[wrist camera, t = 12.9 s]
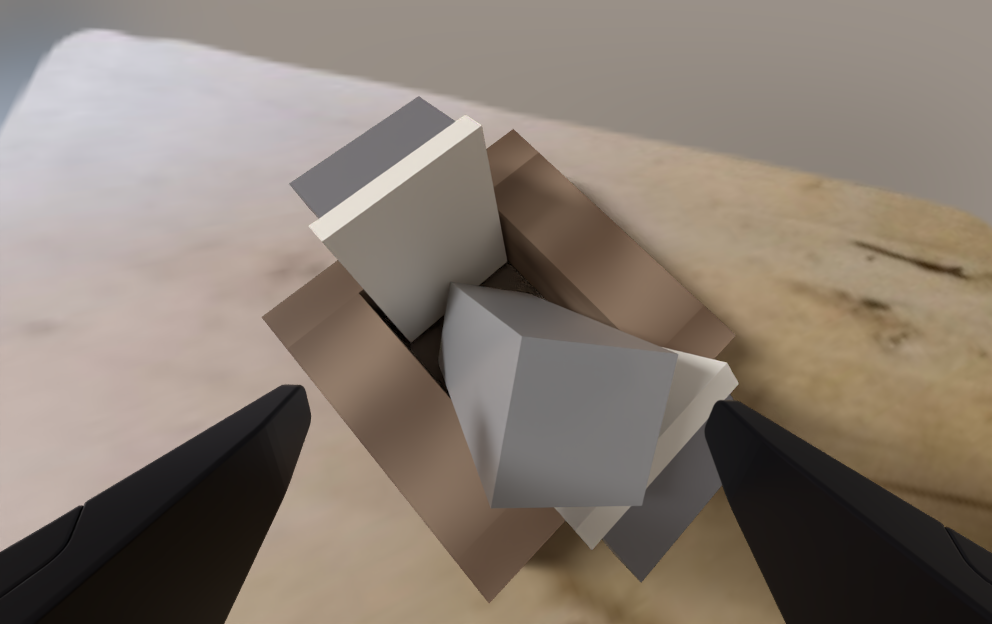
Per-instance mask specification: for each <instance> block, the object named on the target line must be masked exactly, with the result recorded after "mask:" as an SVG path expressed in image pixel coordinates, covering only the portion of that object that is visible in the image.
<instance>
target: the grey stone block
mask: <svg viewBox="0 0 992 624" xmlns="http://www.w3.org/2000/svg"><path fill="white" fill-rule="evenodd" d="M677 358H678V354H677V353H675V352H672V351H670V350H667V349H665V348H662V347H660V346H657V345H655V344H652V343H650V342H647V341H645V340H643V339H640V338H638V337H635V336H633V335H630V334H628V333H625V332H623V331H620V330H618V329H615V328H613V327H610V326H608V325H605V324H603V323H600V322H598V321H596V320H593V319H591V318H588V317H586V316H583V315H581V314H578V313H576V312H573V311H571V310H568V309H566V308H563V307H561V306H558V305H556V304H554V303H551V302H549V301H546V300H544V299H541V298H539V297H536V296H534V295H531V294H529V293H524V292H517V291H510V290H503V289H496V288H490V287H483V286H476V285H469V284H462V283H455V282H450V284H449V291H448V297H447V304H446V311H445V317H444V324H443V330H442V337H441V344H440V350H439V357H438V364H439V367H440V369H441V372H442V375H443V378H444V381H445V383H446V386H447V389H448V392H449V394H450V397H451V400H452V403H453V405H454V408H455V411H456V414H457V416H458V419H459V422H460V425H461V428H462V430H463V433H464V436H465V439H466V441H467V444H468V447H469V450H470V452H471V455H472V458H473V461H474V464H475V466H476V469H477V472H478V475H479V477H480V480H481V483H482V486H483V488H484V491H485V494H486V497H487V499H488V502H489V505H490V508H544V507H599V506H642V503H643V499H644V495H645V491H646V486H647V482H648V478H649V474H650V470H651V466H652V462H653V457H654V453H655V449H656V445H657V441H658V437H659V433H660V429H661V424H662V420H663V416H664V412H665V408H666V404H667V400H668V395H669V391H670V387H671V383H672V379H673V375H674V371H675V367H676V362H677Z"/></svg>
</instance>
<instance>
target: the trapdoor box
mask: <svg viewBox="0 0 992 624" xmlns="http://www.w3.org/2000/svg"><path fill="white" fill-rule="evenodd" d="M486 151H487V156H488V161H489V167H490V172H491V177H492V182H493V188H494V193H495V198H496V204H497V209H498V214H499V219H500V225H501V230H502V235H503V241H504V246H505V251H506V257H507V260H508V261H509V262H510V263H511V264H512V265H513V266H514V267H515V268H516V269H517V270H518V272H519V273H520V274H521V275H522V276H523V277H524V278H525V279H526V280H527V281H528V282H529V283H530V284H531V285H532V286H533V287H534V288H535V289H536V290H537V291H538V292H539V293H540V294H541V295H542V296H543V297H544V298H545V299H546V300H547V301H549V302H551V303H554V304H556V305H558V306H561V307H563V308H566V309H568V310H571V311H573V312H576V313H578V314H581V315H583V316H586V317H588V318H591V319H593V320H596V321H598V322H600V323H603V324H605V325H608V326H610V327H613V328H615V329H618V330H620V331H623V332H625V333H628V334H630V335H633V336H635V337H638V338H640V339H643V340H645V341H647V342H650V343H652V344H655V345H657V346H660V347H664V348H668V349H672V350H676V351H680V352H684V353H689V354H693V355H697V356H701V357H705V358H709V359H715V358H716V357H717V355H718V354H719V353H720V352H721V351H722V350H723V349H724V348H725V347H726V346H727V345H728V343H729V342H730V341H731V340H732V339H733V338H734V337H735V336H736V335H735V334H734V333H733V332H732V331H731V330H730V329H729V328H728V327H727V326H726V325H725V324H723V323H722V322H721V321H720V320H719V319H718V318H717V317H716V316H715V315H714V314H713V313H712V312H711V311H709V310H708V309H707V308H706V307H705V306H704V305H703V304H702V303H701V302H700V301H699V300H698V299H696V298H695V297H694V296H693V295H692V294H691V293H690V292H689V291H688V290H687V289H686V288H685V287H683V286H682V285H681V284H680V283H679V282H678V281H677V280H676V279H675V278H674V277H673V276H672V275H671V274H669V273H668V272H667V271H666V270H665V269H664V268H663V267H662V266H661V265H660V264H659V263H658V262H656V261H655V260H654V259H653V258H652V257H651V256H650V255H649V254H648V253H647V252H646V251H645V250H643V249H642V248H641V247H640V246H639V245H638V244H637V243H636V242H635V241H634V240H633V239H632V238H631V237H629V236H628V235H627V234H626V233H625V232H624V231H623V230H622V229H621V228H620V227H619V226H618V225H616V224H615V223H614V222H613V221H612V220H611V219H610V218H609V217H608V216H607V215H606V214H605V213H604V212H602V211H601V210H600V209H599V208H598V207H597V206H596V205H595V204H594V203H593V202H592V201H591V200H589V199H588V198H587V197H586V196H585V195H584V194H583V193H582V192H581V191H580V190H579V189H578V188H576V187H575V186H574V185H573V184H572V183H571V182H570V181H569V180H568V179H567V178H566V177H565V176H564V175H562V174H561V173H560V172H559V171H558V170H557V169H556V168H555V167H554V166H553V165H552V164H551V163H549V162H548V161H547V160H546V159H545V158H544V157H543V156H542V155H541V154H540V153H539V152H538V151H536V150H535V149H534V148H533V147H532V146H531V145H530V144H529V143H528V142H527V141H526V140H525V139H524V138H522V137H521V136H520V135H519V134H518V133H517V132H516V131H515V130H514V129H513V130H511V131H510V132H509V133H507V134H506V135H505V136H503V137H502V138H501V139H499V140H498V141H497V142H495V143H494V144H493V145H491V146H490V147H489V148H487V149H486ZM384 315H385V313H384V312H383V311H382V309H381V308H380V307H379V306H378V305H377V304H376V303H375V302H374V300H373V299H372V298H371V297H370V296H369V295H368V294H367V292H366V291H365V290H364V289H363V288H362V287H361V286H360V284H359V283H358V282H357V281H356V280H355V279H354V278H353V276H352V275H351V274H350V273H349V272H348V271H347V270H346V268H345V267H344V266H343V265H342V264H341V263H340V262H339V260H337V261H336V262H335V263H333V264H332V265H331V266H329V267H328V268H327V269H325V270H324V271H323V272H321V273H320V274H319V275H317V276H316V277H315V278H313V279H312V280H311V281H309V282H308V283H307V284H305V285H304V286H303V287H301V288H300V289H299V290H297V291H296V292H295V293H293V294H292V295H291V296H289V297H288V298H287V299H285V300H284V301H283V302H281V303H280V304H279V305H277V306H276V307H275V308H273V309H272V310H271V311H269V312H268V313H267V314H265V315H264V316H263V317H262V318H263V320H264V321H265V322H266V323H267V325H268V326H269V327H270V328H271V330H272V331H273V332H274V333H275V335H276V336H277V337H278V338H279V340H280V341H281V342H282V343H283V345H284V346H285V347H286V349H287V350H288V351H289V352H290V354H291V355H292V356H293V357H294V359H295V360H296V361H297V362H298V364H299V365H300V366H301V367H302V369H303V370H304V371H305V372H306V374H307V375H308V376H309V377H310V379H311V380H312V381H313V383H314V384H315V385H316V386H317V388H318V389H319V390H320V391H321V393H322V394H323V395H324V396H325V398H326V399H327V400H328V401H329V403H330V404H331V405H332V406H333V408H334V409H335V410H336V411H337V413H338V414H339V415H340V416H341V418H342V419H343V420H344V422H345V423H346V424H347V425H348V427H349V428H350V429H351V430H352V432H353V433H354V434H355V435H356V437H357V438H358V439H359V440H360V442H361V443H362V444H363V445H364V447H365V448H366V449H367V450H368V452H369V453H370V454H371V456H372V457H373V458H374V459H375V461H376V462H377V463H378V464H379V466H380V467H381V468H382V469H383V471H384V472H385V473H386V474H387V476H388V477H389V478H390V479H391V481H392V482H393V483H394V484H395V486H396V487H397V488H398V490H399V491H400V492H401V493H402V495H403V496H404V497H405V498H406V500H407V501H408V502H409V503H410V505H411V506H412V507H413V508H414V510H415V511H416V512H417V513H418V515H419V516H420V517H421V518H422V520H423V521H424V522H425V523H426V525H427V526H428V527H429V529H430V530H431V531H432V532H433V534H434V535H435V536H436V537H437V539H438V540H439V541H440V542H441V544H442V545H443V546H444V547H445V549H446V550H447V551H448V552H449V554H450V555H451V556H452V557H453V559H454V560H455V561H456V563H457V564H458V565H459V566H460V568H461V569H462V570H463V571H464V573H465V574H466V575H467V576H468V578H469V579H470V580H471V581H472V583H473V584H474V585H475V586H476V588H477V589H478V590H479V591H480V593H481V594H482V595H483V596H484V598H485V599H486V600H487V602H488V603H490V602H491V601H492V600H493V599H494V598H495V597H496V595H497V594H498V593H499V592H500V591H501V590H502V589H503V588H504V587H505V586H506V585H507V584H508V582H509V581H510V580H511V579H512V578H513V577H514V576H515V575H516V574H517V573H518V572H519V570H520V569H521V568H522V567H523V566H524V565H525V564H526V563H527V562H528V561H529V560H530V559H531V557H532V556H533V555H534V554H535V553H536V552H537V551H538V550H539V549H540V548H541V547H542V546H543V544H544V543H545V542H546V541H547V540H548V539H549V538H550V537H551V536H552V535H553V534H554V532H555V531H556V530H557V529H558V528H559V527H560V526H561V525H562V524H563V523H564V522H565V521H566V520H565V519H564V518H563V517H562V516H561V514H560V513H559V512H558V511H557V510H556V509H555V508H554V507H544V508H490V505H489V502H488V499H487V497H486V494H485V491H484V488H483V486H482V483H481V480H480V477H479V475H478V472H477V469H476V466H475V464H474V461H473V458H472V455H471V452H470V450H469V447H468V444H467V441H466V439H465V436H464V433H463V430H462V428H461V425H460V422H459V419H458V416H457V414H456V411H455V408H454V405H453V403H452V400H451V397H450V396H449V394H448V393H447V392H446V391H445V390H444V389H443V387H442V386H441V385H440V384H439V383H438V382H437V381H436V379H435V378H434V377H433V376H432V375H431V374H430V373H429V371H428V370H427V369H426V368H425V367H424V366H423V364H422V363H421V362H420V361H419V360H418V359H417V358H416V356H415V355H414V354H413V353H412V352H411V351H410V350H409V348H408V347H407V346H406V345H405V344H404V343H403V341H402V340H401V339H400V338H399V337H398V336H397V335H396V333H395V332H394V331H393V330H392V329H391V328H390V327H389V325H388V324H387V323H386V322H385V321H384V320H383V318H382V317H383V316H384Z"/></svg>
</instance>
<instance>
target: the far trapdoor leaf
mask: <svg viewBox="0 0 992 624" xmlns="http://www.w3.org/2000/svg"><path fill="white" fill-rule="evenodd" d="M289 184H290V185H291V187H292V188H293V189H294V190H295V191H296V193H297V194H298V195H299V196H300V198H301V199H302V200H303V201H304V202H305V204H306V205H307V206H308V207H309V209H310V210H311V211H312V212H313V213H314V214H315V215H316V216H317V217H318V218H319V219H318V220H316V221H315V222H314V223H312V224H311V225H309V227H310V228H311V230H312V231H313V232H314V233H315V234H316V235H317V236H318V238H319V239H320V240H321V241H322V242H323V243H324V244H325V246H326V247H327V248H328V249H329V250H330V251H331V252H332V254H333V255H334V256H335V257H336V258H337V259H338V260H339V262H340V263H341V264H342V265H343V266H344V267H345V268H346V270H347V271H348V272H349V273H350V274H351V275H352V276H353V278H354V279H355V280H356V281H357V282H358V283H359V284H360V286H361V287H362V288H363V289H364V290H365V291H366V292H367V294H368V295H369V296H370V297H371V298H372V299H373V300H374V302H375V303H376V304H377V305H378V306H379V307H380V308H381V309H382V311H383V312H384V313H385V314H386V315H387V316H388V317H389V319H390V320H391V321H392V322H393V323H394V324H395V325H396V327H397V328H398V329H399V330H400V331H401V332H402V333H403V335H404V336H405V337H406V338H407V339H408V340H409V341H410V343H411V342H412V341H414V340H415V339H416V338H417V337H418V336H419V335H421V334H422V333H423V332H424V331H425V330H427V329H428V328H429V327H430V326H431V325H432V324H434V323H435V322H436V321H437V320H438V319H440V318H441V317H442V316H443V315H444V314H445V311H446V304H447V297H448V291H449V284H450V282H455V283H462V284H469V285H476V286H479V285H480V284H481V283H482V282H483V281H485V280H486V279H487V278H488V277H489V276H491V275H492V274H493V273H494V272H495V271H496V270H498V269H499V268H500V267H501V266H502V265H504V264H505V263H506V262H507V257H506V251H505V246H504V241H503V235H502V230H501V225H500V219H499V214H498V209H497V204H496V198H495V193H494V188H493V182H492V177H491V172H490V167H489V161H488V156H487V151H486V145H485V140H484V135H483V129H482V125H480V124H479V123H477V122H476V121H474V120H473V119H471V118H470V117H468V116H467V115H464V116H463V117H461V118H460V119H459V120H457V121H454V120H453V119H451V118H450V117H448V116H447V115H445V114H444V113H443V112H441V111H440V110H438V109H437V108H435V107H434V106H432V105H431V104H429V103H428V102H426V101H425V100H423V99H422V98H420V97H419V96H418V97H417V98H415V99H414V100H412V101H411V102H410V103H408V104H407V105H405V106H404V107H402V108H401V109H399V110H398V111H396V112H395V113H393V114H392V115H390V116H389V117H387V118H386V119H384V120H383V121H381V122H380V123H378V124H377V125H375V126H374V127H372V128H371V129H369V130H368V131H367V132H365V133H364V134H362V135H361V136H359V137H358V138H356V139H355V140H353V141H352V142H350V143H349V144H347V145H346V146H344V147H343V148H341V149H340V150H338V151H337V152H335V153H334V154H332V155H331V156H329V157H328V158H327V159H325V160H324V161H322V162H321V163H319V164H318V165H316V166H315V167H313V168H312V169H310V170H309V171H307V172H306V173H304V174H303V175H301V176H300V177H298V178H297V179H295V180H294V181H292V182H291V183H289Z"/></svg>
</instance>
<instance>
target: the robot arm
mask: <svg viewBox="0 0 992 624" xmlns="http://www.w3.org/2000/svg"><path fill="white" fill-rule="evenodd" d="M310 422H311V412H310V408H309V403H308V399H307V395H306V391H305V388H304V387H303V386H301V385H281V386H279V387H277V388H276V389H274V390H272V391H271V392H269V393H267V394H266V395H264V396H262V397H261V398H259V399H257V400H256V401H254V402H252V403H251V404H249V405H247V406H246V407H244V408H242V409H241V410H239V411H237V412H236V413H234V414H232V415H230V416H229V417H227V418H225V419H224V420H222V421H220V422H219V423H217V424H215V425H214V426H212V427H210V428H209V429H207V430H205V431H204V432H202V433H200V434H199V435H197V436H195V437H194V438H192V439H190V440H189V441H187V442H185V443H184V444H182V445H180V446H179V447H177V448H175V449H174V450H172V451H170V452H169V453H167V454H165V455H163V456H162V457H160V458H158V459H157V460H155V461H153V462H152V463H150V464H148V465H147V466H145V467H143V468H142V469H140V470H138V471H137V472H135V473H133V474H132V475H130V476H128V477H127V478H125V479H123V480H122V481H120V482H118V483H116V484H115V485H113V486H111V487H110V488H108V489H106V490H105V491H103V492H101V493H100V494H98V495H96V496H95V497H93V498H91V499H90V500H88V501H87V502H85V504H84V506H78V507H76V508H74V509H73V510H71V511H69V512H68V513H66V514H64V515H63V516H61V517H59V518H58V519H56V520H54V521H53V522H51V523H49V524H48V525H46V526H44V527H42V528H41V529H39V530H37V531H36V532H34V533H32V534H30V535H29V536H27V537H25V538H23V539H22V540H20V541H18V542H17V543H15V544H13V545H11V546H10V547H8V548H6V549H4V550H3V551H1V552H0V624H224V623H225V621H226V619H227V617H228V615H229V613H230V610H231V608H232V606H233V604H234V602H235V600H236V598H237V596H238V594H239V591H240V589H241V587H242V585H243V583H244V581H245V579H246V577H247V575H248V572H249V570H250V568H251V566H252V564H253V562H254V560H255V558H256V556H257V553H258V551H259V549H260V547H261V545H262V543H263V541H264V539H265V537H266V534H267V532H268V530H269V528H270V526H271V524H272V522H273V520H274V517H275V515H276V513H277V511H278V509H279V507H280V505H281V503H282V500H283V498H284V496H285V494H286V491H287V489H288V486H289V483H290V481H291V478H292V475H293V472H294V469H295V466H296V464H297V461H298V458H299V455H300V452H301V449H302V446H303V443H304V441H305V438H306V435H307V432H308V429H309V426H310ZM704 434H705V439H706V442H707V444H708V447H709V450H710V453H711V456H712V458H713V461H714V464H715V467H716V469H717V472H718V475H719V478H720V481H721V483H722V486H723V489H724V492H725V494H726V497H727V499H728V502H729V504H730V507H731V509H732V511H733V513H734V515H735V518H736V520H737V522H738V524H739V526H740V528H741V530H742V532H743V534H744V537H745V539H746V541H747V543H748V545H749V547H750V549H751V551H752V553H753V555H754V558H755V560H756V562H757V564H758V566H759V568H760V570H761V572H762V574H763V577H764V579H765V581H766V583H767V585H768V587H769V589H770V591H771V593H772V595H773V598H774V600H775V602H776V604H777V606H778V608H779V610H780V612H781V614H782V617H783V619H784V621H785V623H786V624H992V553H991V552H989V551H987V550H986V549H984V548H982V547H980V546H979V545H977V544H975V543H974V542H972V541H970V540H969V539H967V538H965V537H964V536H962V535H961V534H959V533H957V532H956V531H954V530H952V529H951V528H948V527H944V525H943V524H942V523H940V522H939V521H937V520H935V519H934V518H932V517H930V516H929V515H927V514H925V513H924V512H922V511H920V510H919V509H917V508H915V507H914V506H912V505H911V504H909V503H907V502H906V501H904V500H902V499H901V498H899V497H897V496H896V495H894V494H892V493H891V492H889V491H887V490H886V489H884V488H882V487H881V486H879V485H877V484H876V483H874V482H872V481H871V480H869V479H867V478H866V477H864V476H862V475H861V474H859V473H857V472H856V471H854V470H852V469H851V468H849V467H847V466H846V465H844V464H842V463H841V462H839V461H837V460H836V459H834V458H832V457H831V456H829V455H827V454H826V453H824V452H822V451H821V450H819V449H817V448H816V447H814V446H812V445H811V444H809V443H807V442H806V441H804V440H802V439H801V438H799V437H797V436H796V435H794V434H792V433H791V432H789V431H787V430H786V429H784V428H783V427H781V426H779V425H778V424H776V423H774V422H773V421H771V420H769V419H768V418H766V417H764V416H763V415H761V414H759V413H758V412H756V411H754V410H753V409H751V408H749V407H748V406H746V405H744V404H743V403H741V402H739V401H736V400H718V401H717V402H716V403H715V404H714V406H713V408H712V411H711V413H710V415H709V418H708V420H707V422H706V425H705V429H704Z"/></svg>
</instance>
